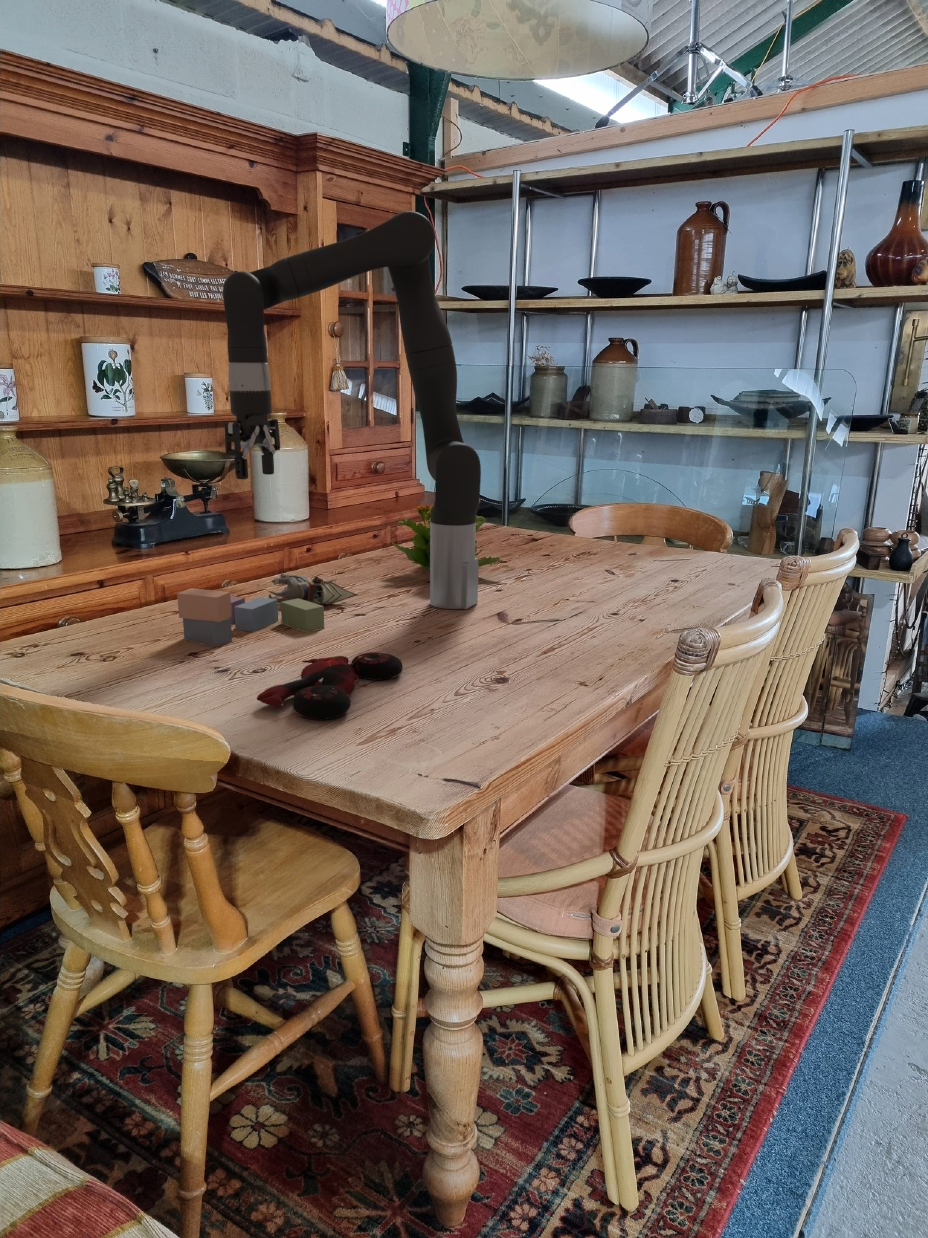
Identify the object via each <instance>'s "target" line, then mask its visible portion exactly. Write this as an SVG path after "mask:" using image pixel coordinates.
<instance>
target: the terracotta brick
mask: <svg viewBox="0 0 928 1238" xmlns="http://www.w3.org/2000/svg"><path fill="white" fill-rule="evenodd" d="M230 596H231V592H230V591H221V590H213V589H203V588H201V589H200V588H193V587H192V588H191V587H190V588H188V589H185V590H182V591H180V592H177V609H178V618H179V619H183V618H186V619H195V620H204V621H213V622H220V621H222V620H225V619H227V618H229V617H231V598H230Z"/></svg>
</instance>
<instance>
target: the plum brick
mask: <svg viewBox="0 0 928 1238" xmlns="http://www.w3.org/2000/svg"><path fill="white" fill-rule="evenodd" d="M230 598H231V617H229V618H231V625H235V612H234V607H235V606H238V605H240V604H243V603H246V600H245V599H246V598H245V597H239V596H234V595H230Z"/></svg>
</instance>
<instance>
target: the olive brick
mask: <svg viewBox="0 0 928 1238" xmlns="http://www.w3.org/2000/svg"><path fill="white" fill-rule="evenodd" d="M324 606H325V605H322V604H321V605H319V604H316V603H314V602H309V601H305V600H302V599H299V598H297V599H292V600H288V601H283V602H281V603H280V611H281V612H280V614H281V616H280V617H281V618H280V619H281V624H282V625H285V626H288V627H290V628H294V629H297V630H300V631H302V632H305V633H309V632H314V631H318V630H323V629H325V607H324Z"/></svg>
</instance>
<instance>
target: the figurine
mask: <svg viewBox="0 0 928 1238" xmlns="http://www.w3.org/2000/svg"><path fill="white" fill-rule="evenodd" d="M338 579H339V577H335V578H331V579H330V580H324V579H323V578H320V577H319V576H314V577H313V578H312V579H310V578H308V577H306V576H302V575H297V574H296V575H295V574H294V575H292V574H291V575H290V574H289V573H286V574H285V573H283V572H281V573H280V574H279V576H277V577H275V578H274V579H272V580H271V582H272V583H273V585H274V586H276V585H279V586H280V585H286V586H285V587H284V588H283V590H282V591H280V592H276V591H271V590H268V593H269V595H268V597H267V598H270V599H277V600H278V604H281V602H283V601H288V600H292V599H297V598H299V599H302V600H305V601H309V602H312V603H315V604H318V605H321V606H325V605H330V604H331V605H334V604H335V603H338V602H339V603H340V602H342V601H344V600H347V599H351V598H354V597H357V596H359V593H355V592H352V591H350V590H347V589H345V588H344V587H342V586H340V585H338V584H336V581H337V580H338ZM272 595H274V596H272ZM279 597H280V598H279ZM282 597H283V598H282Z"/></svg>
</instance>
